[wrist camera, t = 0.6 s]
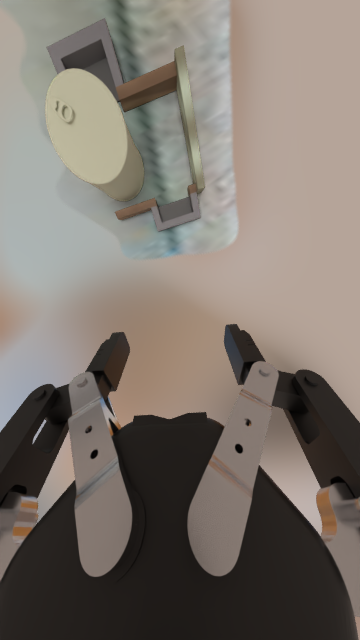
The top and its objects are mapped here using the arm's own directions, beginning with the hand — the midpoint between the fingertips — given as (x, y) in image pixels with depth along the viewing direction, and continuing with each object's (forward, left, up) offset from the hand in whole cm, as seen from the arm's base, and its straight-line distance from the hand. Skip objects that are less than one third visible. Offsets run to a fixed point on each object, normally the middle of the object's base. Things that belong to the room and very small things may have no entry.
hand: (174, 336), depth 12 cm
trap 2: (-29, -4, -28) cm, 40 cm away
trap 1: (-11, +4, -28) cm, 30 cm away
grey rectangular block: (-19, -5, -29) cm, 35 cm away
